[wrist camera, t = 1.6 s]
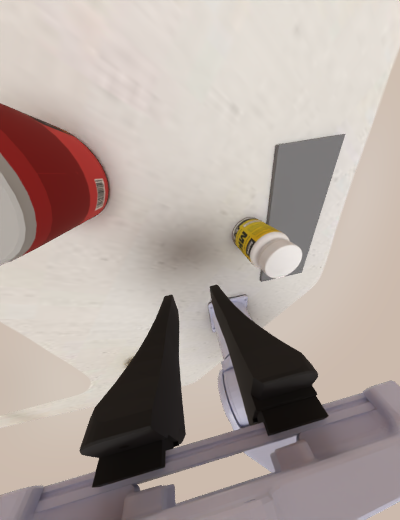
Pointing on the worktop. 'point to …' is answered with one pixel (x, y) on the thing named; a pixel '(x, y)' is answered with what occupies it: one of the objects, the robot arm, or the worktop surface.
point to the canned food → (43, 183)
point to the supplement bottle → (266, 247)
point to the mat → (301, 189)
